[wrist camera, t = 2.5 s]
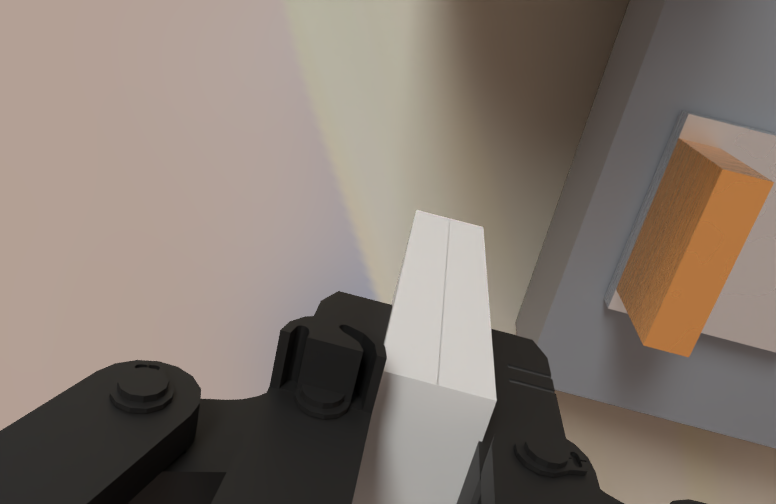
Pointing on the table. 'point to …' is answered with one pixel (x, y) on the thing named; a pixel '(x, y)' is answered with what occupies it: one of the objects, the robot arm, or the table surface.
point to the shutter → (704, 241)
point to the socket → (623, 203)
